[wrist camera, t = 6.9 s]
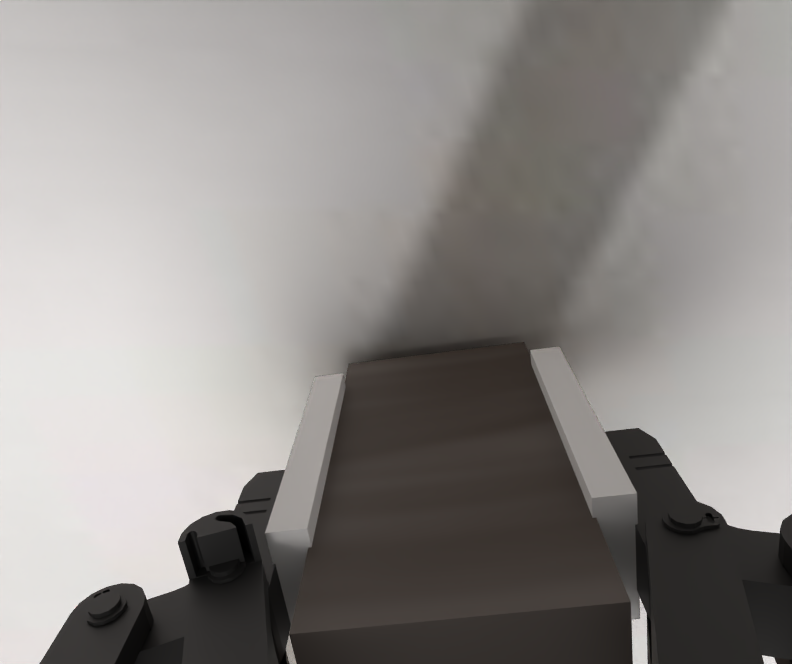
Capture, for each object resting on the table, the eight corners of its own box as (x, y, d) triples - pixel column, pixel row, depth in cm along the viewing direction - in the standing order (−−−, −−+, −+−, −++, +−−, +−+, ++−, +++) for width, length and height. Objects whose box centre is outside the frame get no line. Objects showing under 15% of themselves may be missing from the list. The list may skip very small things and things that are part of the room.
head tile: (348, 363, 19) (289, 634, 10) (524, 341, 19) (630, 602, 10) (360, 425, 20) (314, 730, 11) (529, 405, 20) (633, 704, 10)
